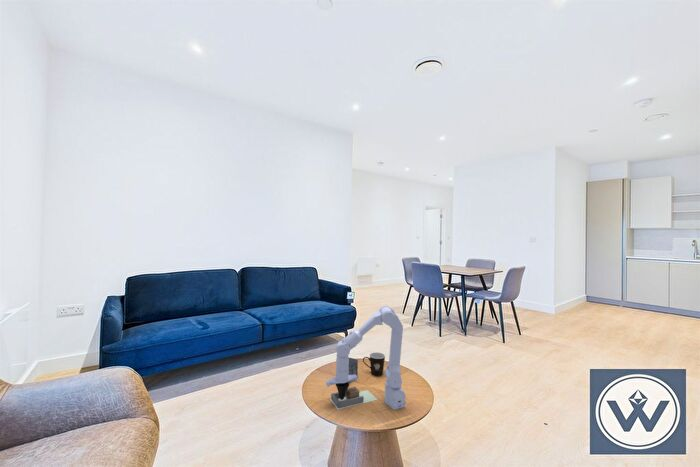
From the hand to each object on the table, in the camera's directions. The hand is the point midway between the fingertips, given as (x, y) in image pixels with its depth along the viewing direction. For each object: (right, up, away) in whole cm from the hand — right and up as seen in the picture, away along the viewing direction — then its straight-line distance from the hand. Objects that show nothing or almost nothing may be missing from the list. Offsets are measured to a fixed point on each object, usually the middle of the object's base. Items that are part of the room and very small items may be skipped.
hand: (341, 398), depth 136 cm
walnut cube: (+5, -2, +2) cm, 6 cm away
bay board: (+6, -3, +3) cm, 7 cm away
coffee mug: (+18, -3, +32) cm, 36 cm away
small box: (+3, -3, +21) cm, 22 cm away
